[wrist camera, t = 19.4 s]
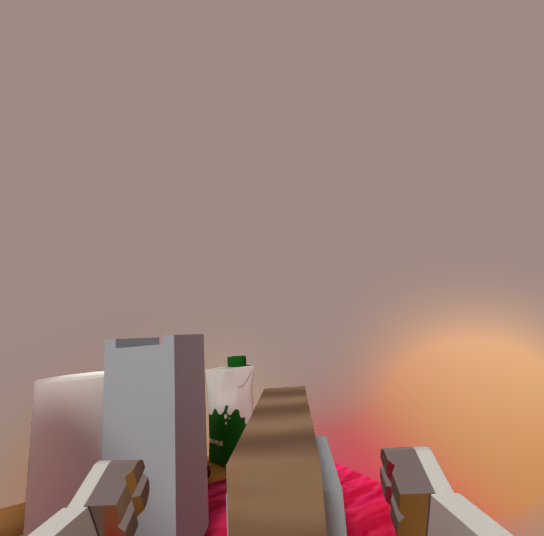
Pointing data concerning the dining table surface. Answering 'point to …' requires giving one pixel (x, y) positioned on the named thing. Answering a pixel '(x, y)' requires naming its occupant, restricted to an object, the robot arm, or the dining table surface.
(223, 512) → the dining table surface
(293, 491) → the walnut rail
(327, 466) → the gray rectangular block
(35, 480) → the canister
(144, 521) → the bracket tower
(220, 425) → the milk carton
